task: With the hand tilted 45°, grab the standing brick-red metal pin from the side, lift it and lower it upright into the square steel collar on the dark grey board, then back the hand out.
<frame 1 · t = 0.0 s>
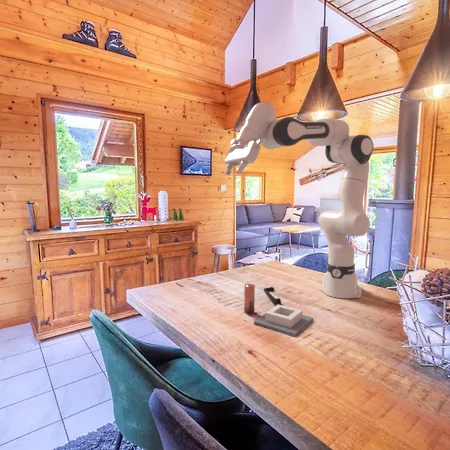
hand: (232, 173, 113), 54 cm above the table, tool tilted 30°, fingers open, 8 cm apart
black hooked rod: (275, 302, 132), on the table, touching socket board
pin: (249, 312, 120), on the table
socket board: (283, 322, 111), on the table
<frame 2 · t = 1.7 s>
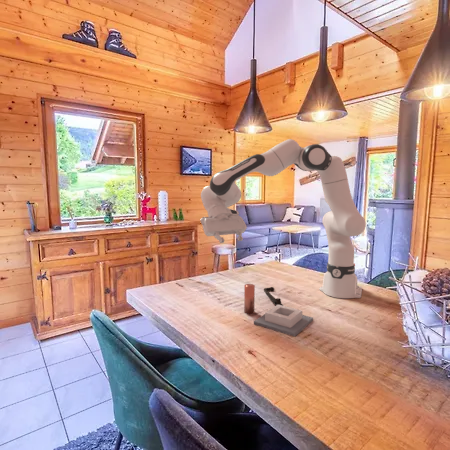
hand: (231, 241, 127), 27 cm above the table, tool tilted 45°, fingers open, 8 cm apart
nothing on the table moved.
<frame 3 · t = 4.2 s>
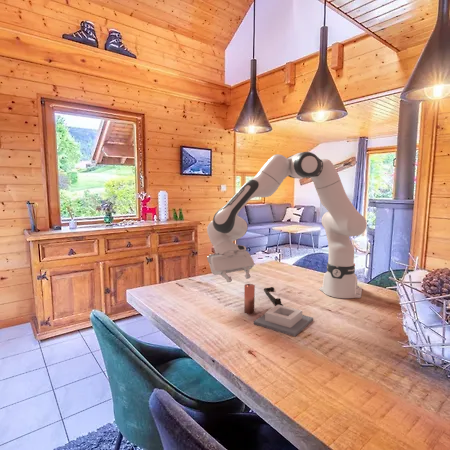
hand: (239, 279, 125), 12 cm above the table, tool tilted 45°, fingers open, 8 cm apart
nothing on the table moved.
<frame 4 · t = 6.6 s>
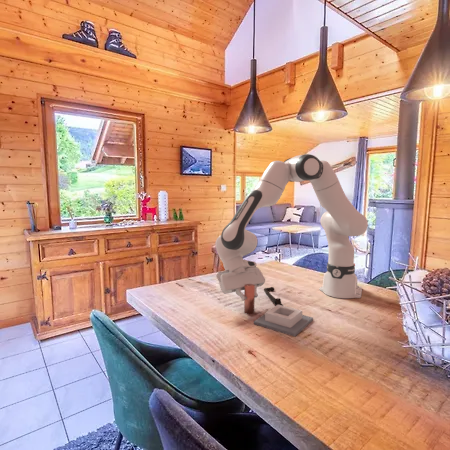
hand: (250, 298, 119), 6 cm above the table, tool tilted 45°, fingers closed on pin, 4 cm apart
pin: (249, 312, 120), on the table, touching gripper
everything else where it was.
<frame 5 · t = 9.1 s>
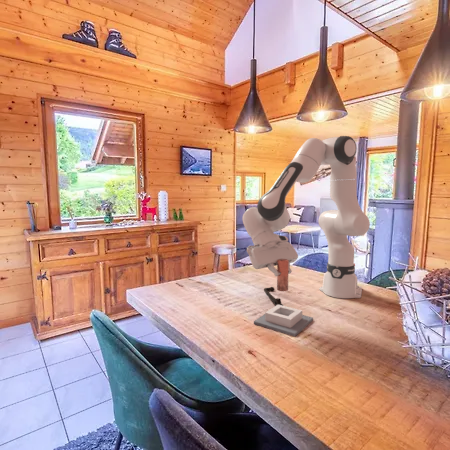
hand: (284, 274, 109), 18 cm above the table, tool tilted 45°, fingers closed on pin, 4 cm apart
pin: (282, 289, 110), point 12 cm above the table, touching gripper
everything else where it was.
when the fingers open (8 cm above the table, at t = 12.0 s): pin drops 1 cm, resting on socket board.
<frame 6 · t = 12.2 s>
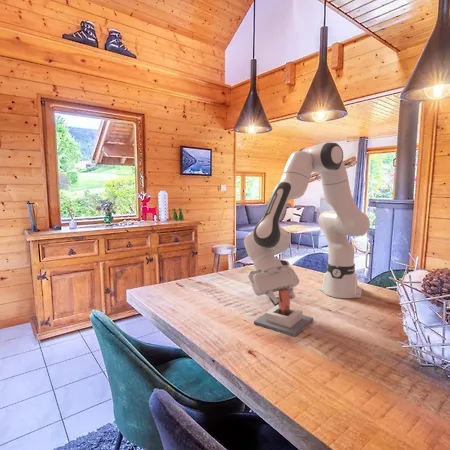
hand: (285, 300, 110), 8 cm above the table, tool tilted 45°, fingers open, 6 cm apart
pin: (284, 319, 111), point 1 cm above the table, touching socket board
everything else where it was.
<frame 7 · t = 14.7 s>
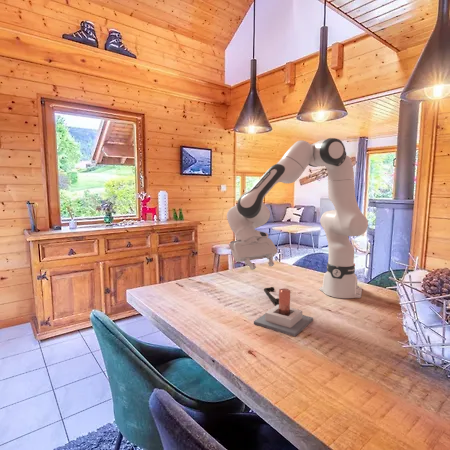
hand: (263, 267, 119), 18 cm above the table, tool tilted 45°, fingers open, 8 cm apart
nothing on the table moved.
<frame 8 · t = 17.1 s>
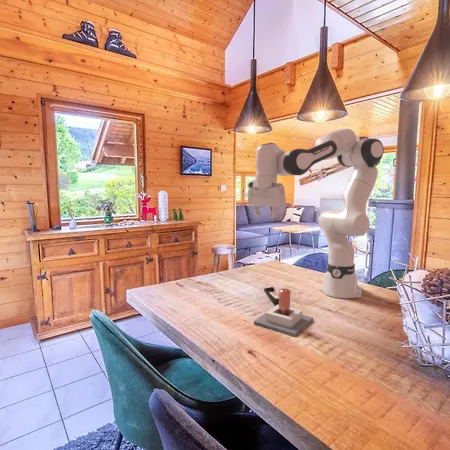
hand: (265, 217, 125), 37 cm above the table, tool pointing down, fingers open, 8 cm apart
nothing on the table moved.
at the end: pin 0.1 cm off-centre on the socket board, point 1.0 cm above the socket board's base; pin tilted 0°; the gripper is holding nothing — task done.
